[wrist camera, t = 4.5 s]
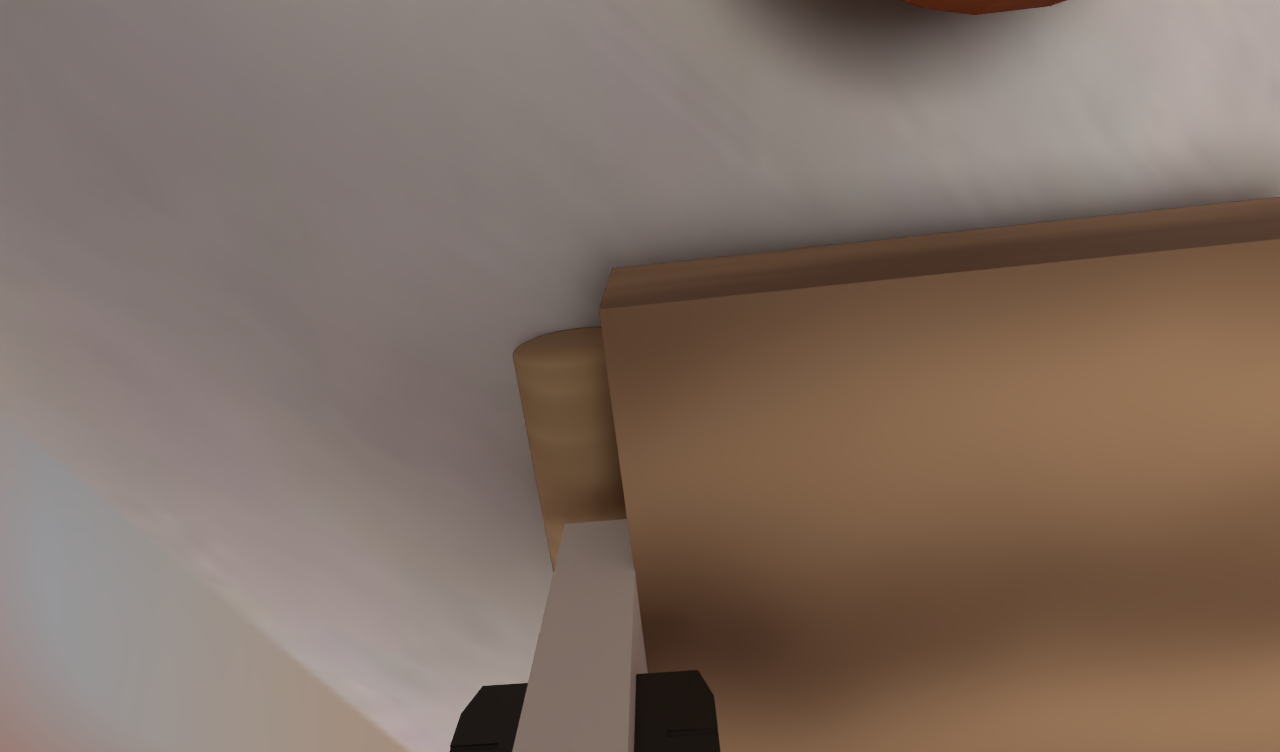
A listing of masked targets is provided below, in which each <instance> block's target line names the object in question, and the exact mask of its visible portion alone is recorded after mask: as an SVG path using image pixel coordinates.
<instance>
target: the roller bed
mask: <svg viewBox="0 0 1280 752" xmlns="http://www.w3.org/2000/svg"><path fill="white" fill-rule="evenodd" d="M513 360H514V365H515V370H516V376H517V381H518V386H519V392H520V397H521V402H522V408H523V413H524V418H525V424H526V429H527V434H528V440H529V445H530V450H531V455H532V461H533V466H534V471H535V477H536V482H537V487H538V493H539V498H540V503H541V509H542V514H543V519H544V525H545V530H546V535H547V541H548V546H549V551H550V556H551V562H552V567H553V572H554V569H555V565H556V561H557V556H558V552H559V548H560V543H561V539H562V535H563V530H564V526H565V524H570V523H582V522H595V521H608V520H621V519H627V514H626V507H625V499H624V492H623V485H622V477H621V470H620V463H619V455H618V448H617V440H616V433H615V426H614V418H613V411H612V404H611V396H610V389H609V381H608V374H607V367H606V359H605V352H604V345H603V337H602V330H601V327H588V328H578V329H570V330H564V331H559V332H555V333H551V334H547V335H543V336H540V337H537V338H534V339H532V340H529V341H527V342H525V343H523V344H522V345H520V346H519V347H517V348H516V349H515V350H514V352H513Z"/></svg>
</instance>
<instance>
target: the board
mask: <svg viewBox="0 0 1280 752" xmlns="http://www.w3.org/2000/svg"><path fill="white" fill-rule="evenodd" d="M599 315H600V322H601V330H602V337H603V345H604V352H605V359H606V367H607V374H608V381H609V389H610V396H611V404H612V411H613V418H614V426H615V433H616V440H617V448H618V455H619V463H620V470H621V477H622V485H623V492H624V499H625V507H626V514H627V522H628V529H629V536H630V544H631V551H632V558H633V566H634V569H635V576H636V584H637V592H638V600H639V608H640V616H641V624H642V632H643V640H644V647H645V654H646V662H647V669H648V673H658V672H674V671H689V670H698V671H699V672H700V674H701V675H702V677H703V679H704V680H705V682H706V683H707V685H708V687H709V688H710V690H711V692H712V693H713V695H714V699H715V708H716V716H717V725H718V734H719V742H720V751H721V752H1280V197H1275V198H1265V199H1256V200H1247V201H1237V202H1228V203H1219V204H1209V205H1200V206H1191V207H1181V208H1172V209H1163V210H1153V211H1144V212H1135V213H1125V214H1116V215H1107V216H1097V217H1088V218H1079V219H1069V220H1060V221H1051V222H1041V223H1032V224H1023V225H1013V226H1004V227H995V228H985V229H976V230H966V231H957V232H948V233H938V234H929V235H920V236H910V237H901V238H892V239H882V240H873V241H864V242H854V243H845V244H836V245H826V246H817V247H808V248H798V249H789V250H780V251H770V252H761V253H752V254H742V255H733V256H724V257H714V258H705V259H696V260H686V261H677V262H668V263H658V264H649V265H640V266H630V267H621V268H612V271H611V274H610V277H609V280H608V283H607V286H606V289H605V292H604V295H603V298H602V301H601V304H600V307H599Z"/></svg>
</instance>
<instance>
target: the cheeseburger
mask: <svg viewBox="0 0 1280 752" xmlns="http://www.w3.org/2000/svg"><path fill="white" fill-rule="evenodd" d="M903 1H906V2H908V3H911V4H913V5H916V6H919V7H922V8H929V9H936V10H943V11H950V12H957V13H964V14H971V15H978V14H987V13H995V12H1004V11H1012V10H1020V9H1029V8H1037V7H1045V6H1051V5H1054V4H1057V3H1060V2H1063V1H1066V0H903Z"/></svg>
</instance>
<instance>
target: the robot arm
mask: <svg viewBox="0 0 1280 752" xmlns="http://www.w3.org/2000/svg"><path fill="white" fill-rule="evenodd" d="M450 747H451V748H450V752H721V751H720V742H719V734H718V725H717V716H716V708H715V699H714V695H713V693H712V692H711V690H710V688H709V687H708V685H707V683H706V682H705V680H704V679H703V677H702V675H701V674H700V672H699V671H698V670H689V671H674V672H658V673H648V669H647V662H646V654H645V647H644V640H643V632H642V624H641V616H640V608H639V600H638V592H637V584H636V576H635V569H634V566H633V558H632V551H631V544H630V536H629V529H628V522H627V519H621V520H608V521H595V522H582V523H570V524H565V526H564V530H563V535H562V539H561V543H560V548H559V552H558V556H557V561H556V565H555V569H554V574H553V578H552V582H551V586H550V591H549V595H548V599H547V604H546V608H545V612H544V617H543V621H542V625H541V630H540V634H539V638H538V643H537V647H536V651H535V656H534V660H533V664H532V669H531V673H530V677H529V682H528V683H522V684H507V685H492V686H482V688H481V689H480V690H479V692H478V693H477V694H476V695H475V697H474V698H473V699H472V701H471V702H470V703H469V704H468V706H467V707H466V708H465V710H464V711H463V712H462V713H461V716H460V719H459V722H458V725H457V728H456V730H455V733H454V736H453V739H452V742H451V745H450Z"/></svg>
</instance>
